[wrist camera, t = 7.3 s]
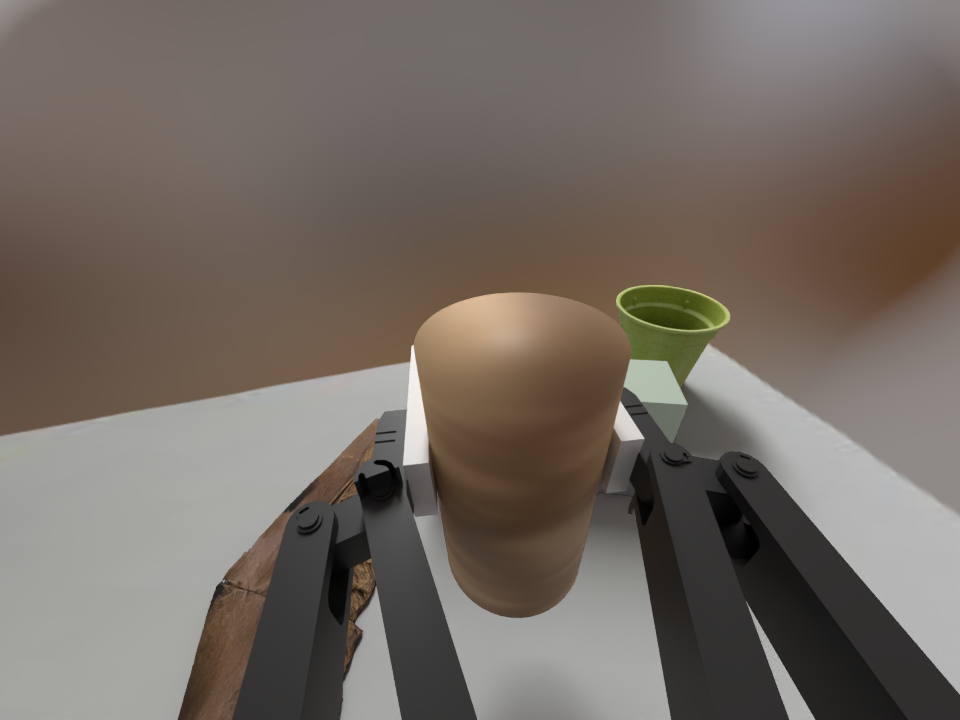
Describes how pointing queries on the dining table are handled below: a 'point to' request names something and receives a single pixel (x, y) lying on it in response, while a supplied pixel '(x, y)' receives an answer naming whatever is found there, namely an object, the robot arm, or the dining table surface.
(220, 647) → the wooden fragment
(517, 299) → the tan wooden cylinder
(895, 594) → the dining table surface
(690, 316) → the plant pot
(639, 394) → the block
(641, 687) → the dining table surface
